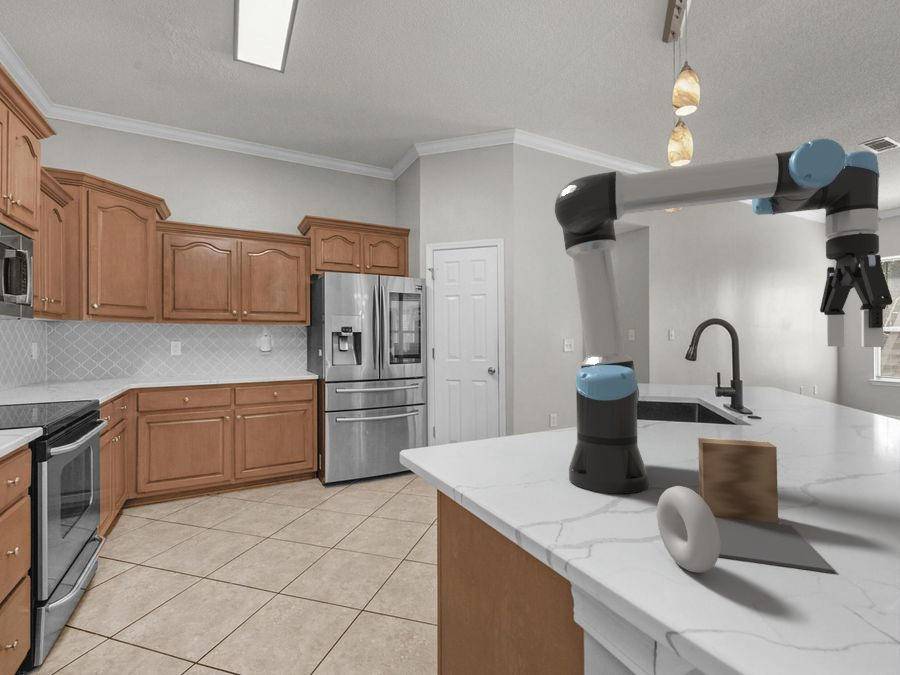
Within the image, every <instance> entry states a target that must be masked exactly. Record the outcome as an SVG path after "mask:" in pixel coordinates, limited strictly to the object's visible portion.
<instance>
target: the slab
mask: <svg viewBox="0 0 900 675" xmlns="http://www.w3.org/2000/svg"><path fill="white" fill-rule="evenodd" d="M697 442H698V443H697V444H698V446H697V448H698V479H699V480H698V485H699V486H698V488H699V489H698V491H699V494H698V495H700V496H701V497H702V498H703V500H704V501H705V502H706V504H707V505H708V506H709V508H710V510H711V511H712V513H713V515H714V517H723V518H732V519H741V520H750V521H759V522H768V523H777V524H779V500H778V498H779V495H778V490H779V489H778V458H777V457H778V456H777V454H778V453H777V446H775V445H774V444H772V443H771V442H769V441H761V440H742V439H727V438H726V439H725V438H709V437H698V440H697Z"/></svg>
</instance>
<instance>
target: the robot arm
mask: <svg viewBox="0 0 900 675" xmlns="http://www.w3.org/2000/svg"><path fill="white" fill-rule="evenodd" d="M879 170H880V169H879V162H878V156H877V154H875V153H874V152H871V151H868V150H866V151H865V150H864V151H863V150H862V151H859V150H858V151H852V152H849V153H846V151H845V149H844V147H843V146H842V144H840V143H839V142H837V141H835V140H834V139H830V138H815V139H812V140H809V141H808V142H804V144H802V145H801V146H798V147H797V148H796V149H795V150H789V151H783V152H778V153H777V152H776V153H771V154H765V155H758V156H750V157H743V158H735V159H730V160H729V159H727V160H722V161H716V162H709V163H701V164H695V165H688V166H682V167H681V166H680V167H674V168H667V169H661V170H660V169H659V170H654V171H653V170H652V171H647V172H646V171H645V172H639V173H631V174H626V175H624V174H623V173H622V172H620V171H619V170H617V171H607V172H602V173H597V174H591V175H587V176H586V175H585V176H581V177H579V178H577V179H573V180H572V181H570V182H569V183H567V184H566V185H565V186H564V187H563V188H562V189H561V190H560V192H559V193H558V195H557V196H556V199H555V202H554V216H555V218H556V220H557V222H558V224H559V225H560V226H561V228H562V233H563V234H562V235H563V242H564V248H565V254H566V255H568V256H569V257H571V258H572V260H573V266H574V274H575V281H576V288H577V296H578V305H579V310H580V317H581V325H582V334H583V339H584V340H583V341H584V348H585V359H584V360H583V362H581V364H580V367H581V368H580V369H579V370H577V373H576V375H575V376H576V378H575V382H574V384H575V385H574V386H575V390H576V397H575V398H576V438H577V439H576V445H575V448H574V451H573V455H572V458H571V460H570V463H569V467H568V480H569V481H570V483H571V484H573V485H575V486H576V487H580V488H581V489H585V490H589V491H593V492H599V493H606V494H607V493H608V494H631V493H632V494H633V493H639V492H642V491H644V490H646V489H647V488H648V487H649V475H648V471H647V469H646V466H645V463H644V461H643V456H642V455H641V450H640V449H639V446H638V445H639V444H638V402H639V398H640V390H639V385H638V380H637V375H636V371H635V364H634V359H633V358H632V357H631V356H630V355H628V354H627V353H626V352H625V345H624V337H623V331H622V323H621V317H620V308H619V301H618V295H617V287H616V280H615V273H614V266H613V261H612V260H613V259H612V250H613V249H615V248H614V247H615V246H616V245H617V239H616V232H615V224H614V223H615V221H618V220H620V219H621V218H622V217H624V216H625V215H627V214H628V215H629V214H635V213H645V212H652V211H653V212H654V211H662V210H671V209H678V208H679V209H680V208H686V207H687V208H688V207H697V206H704V205H705V206H706V205H715V204H721V203H722V204H723V203H730V202H741V201H747V200H751V205H752V210H753V212H754V214H756V215H772V216H774V215H778V214H786V213H796V212H806V211H814V210H815V211H817V210H818V211H819V210H825V218H824V219H825V222H824V223H825V226H824V227H825V230H824V231H825V232H824V233H825V236H824V237H826V238H827V240H826V242H825V257H826V259H828V260H830V261H831V260H832V261H833V260H835V262H836V263H835V266H828V267H827V269H826V280H825V285H824V290H823V294H822V295H823V296H822V299H821V304H820V309H819V312H820V313H823V314H824V316H825V347H842V348H843V347H845V318H844V317H845V315H846V313H845V311H844V310H843V309H844V306H845V304H846V302H847V300H848V296H849V294H850V292H851V290H852V289H854V290H855V291H856V294H857V295H858V297H859V299H860V301H861V303H862V304H861V306H860V308H859V310H861V316H860V317H861V318H860V319H861V348H884V310H885V309H886V308H887V306H891V305H892V304H893V298H892V295H891V292H890V291H891V290H890V289H889V286H888V282H887V280H886V277H885V273H884V270H883V267H882V257H881V254H879V252H880V236H879V235H878V234H876V233H877V232H878V231H879V223H880V222H881V220H882V218H881V217H880V216H879V189H880V188H879V187H880V186H879V184H880V183H879V182H880V180H879V178H880V171H879Z"/></svg>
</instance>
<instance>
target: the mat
mask: <svg viewBox="0 0 900 675" xmlns="http://www.w3.org/2000/svg"><path fill="white" fill-rule="evenodd" d="M715 520H716V523H717V526H718V529H719V535H720V542H721V543H720V554H719V557H718V558H722V559H725V558H726V559H731V560H739V561H747V562H753V563H760V564H766V565H767V564H768V565H772V566H773V565H774V566H780V567H781V566H782V567H788V568H795V569H803V570H810V571H815V572H824V573H831V574H835V573H836V570H835V569H834V567H833V566H832V565H831V564H829V562H828V561H826V560H825V558H824V557H823V556H822V555H821V554H820V553H819V552H818V551H817V550H816V549H815V548H814V546H812V545H811V543H809V542H808V541H807V540H806V539H805V538H804V536H802V535H801V533H800V532H799V531H797V529H796V528H795V527H794V526H793V525H792V524H784V523H778V524H777V523H768V522H759V521H750V520H741V519H732V518H723V517H715Z"/></svg>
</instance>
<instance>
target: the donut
mask: <svg viewBox="0 0 900 675" xmlns="http://www.w3.org/2000/svg"><path fill="white" fill-rule="evenodd" d="M657 502H658V503H657V508H656V520H657V527H658V530H659V534H660V538H661V541H662V543H663V545H664V547H665V549H666V550H667V552H668V554H669V556H670V558H672V559H673V561H674V562H675V563H676V564H677V565H679V566H680V567H681V568H683V569H685V570H687V571H688V572H690V573H705V572H708V571H710V569H712V568H713V567H714V566H715V565H716V564H717V562H718V558H720V557H719V554H720V543H721V542H720V535H719V529H718V526H717V523H716V520H715V517H714V515H713V513H712V511H711V510H710V508H709V506H708V505H707V504H706V502H705V501H704V500H703V498H702V497H701V496H700V495H699V494H698V493H697V492H695V491H694V490H693V489H691V488H689V487H685V486H681V485H675V486H672V487H669V488H667V489H665V490H664V492H663V493H662V494H661V495H660V497H659V499H658V501H657Z"/></svg>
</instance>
